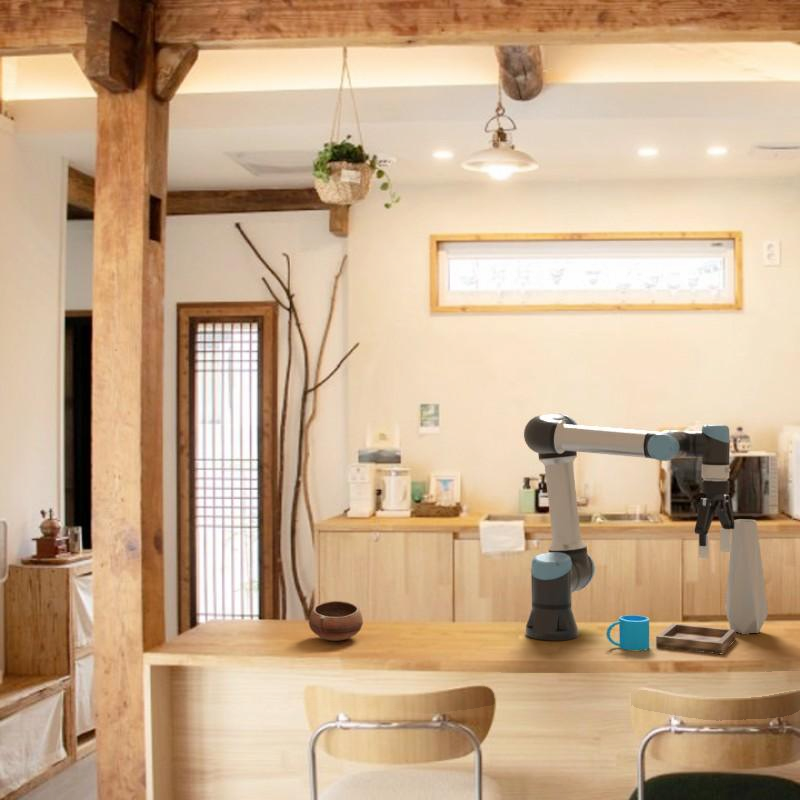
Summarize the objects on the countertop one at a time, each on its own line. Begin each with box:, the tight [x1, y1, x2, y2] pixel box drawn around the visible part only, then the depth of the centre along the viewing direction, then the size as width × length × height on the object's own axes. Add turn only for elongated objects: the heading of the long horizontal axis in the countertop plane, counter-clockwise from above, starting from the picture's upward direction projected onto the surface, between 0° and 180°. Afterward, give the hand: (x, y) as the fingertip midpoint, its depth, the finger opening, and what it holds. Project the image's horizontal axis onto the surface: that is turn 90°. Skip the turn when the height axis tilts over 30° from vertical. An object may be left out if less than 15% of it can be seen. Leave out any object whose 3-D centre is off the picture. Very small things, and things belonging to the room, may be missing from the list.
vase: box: [724, 518, 769, 635], centre depth 314 cm, size 12×12×33 cm
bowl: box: [308, 600, 364, 642], centre depth 309 cm, size 16×16×10 cm
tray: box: [655, 622, 737, 654], centre depth 301 cm, size 18×18×3 cm
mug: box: [606, 614, 650, 651], centre depth 297 cm, size 12×8×8 cm
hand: (714, 554), depth 299 cm, fingers open, 13 cm apart
